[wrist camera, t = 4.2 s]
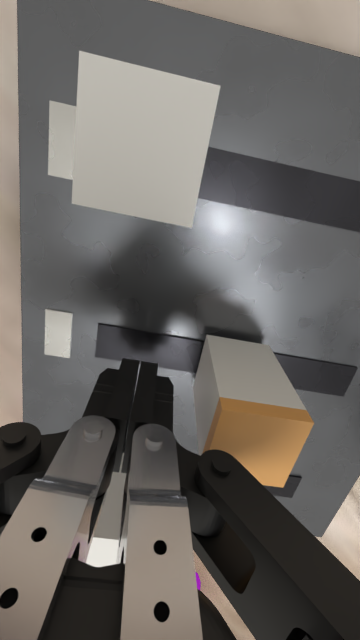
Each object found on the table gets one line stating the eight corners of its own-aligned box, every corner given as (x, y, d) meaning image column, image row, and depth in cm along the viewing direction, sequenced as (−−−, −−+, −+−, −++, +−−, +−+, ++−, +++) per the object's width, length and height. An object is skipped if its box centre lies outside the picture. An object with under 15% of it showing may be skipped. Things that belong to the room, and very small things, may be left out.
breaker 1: (138, 454, 17) (127, 541, 13) (131, 490, 18) (119, 580, 14) (84, 447, 17) (55, 533, 13) (81, 484, 18) (52, 574, 14)
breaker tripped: (268, 345, 14) (314, 422, 10) (250, 396, 15) (282, 487, 11) (206, 334, 14) (222, 409, 9) (192, 387, 15) (200, 477, 11)
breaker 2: (202, 123, 11) (220, 85, 7) (185, 212, 12) (191, 228, 8) (117, 103, 10) (79, 50, 6) (108, 196, 12) (71, 203, 7)
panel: (522, 126, 13) (583, 115, 11) (309, 508, 23) (322, 538, 21) (42, 1, 11) (15, -38, 9) (37, 475, 21) (23, 505, 19)
